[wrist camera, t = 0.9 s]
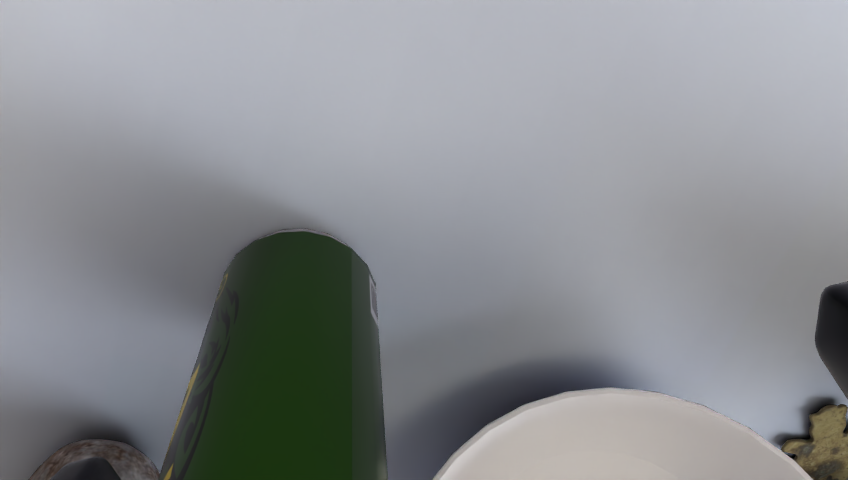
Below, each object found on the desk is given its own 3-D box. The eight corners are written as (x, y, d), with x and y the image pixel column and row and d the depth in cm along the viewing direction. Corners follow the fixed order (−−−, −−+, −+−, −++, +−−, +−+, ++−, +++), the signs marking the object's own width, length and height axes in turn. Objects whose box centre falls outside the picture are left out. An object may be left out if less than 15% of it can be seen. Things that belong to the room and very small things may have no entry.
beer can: (359, 206, 21) (368, 520, 11) (388, 329, 24) (417, 673, 14) (202, 236, 21) (61, 579, 11) (250, 356, 24) (173, 720, 14)
